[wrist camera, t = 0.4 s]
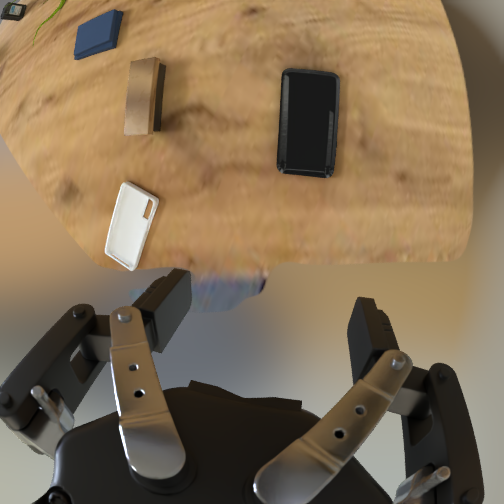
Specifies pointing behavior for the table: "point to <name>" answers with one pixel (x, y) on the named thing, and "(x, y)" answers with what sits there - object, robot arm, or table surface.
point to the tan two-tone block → (144, 97)
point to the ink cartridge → (13, 11)
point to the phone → (308, 122)
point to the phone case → (129, 225)
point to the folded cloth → (98, 34)
